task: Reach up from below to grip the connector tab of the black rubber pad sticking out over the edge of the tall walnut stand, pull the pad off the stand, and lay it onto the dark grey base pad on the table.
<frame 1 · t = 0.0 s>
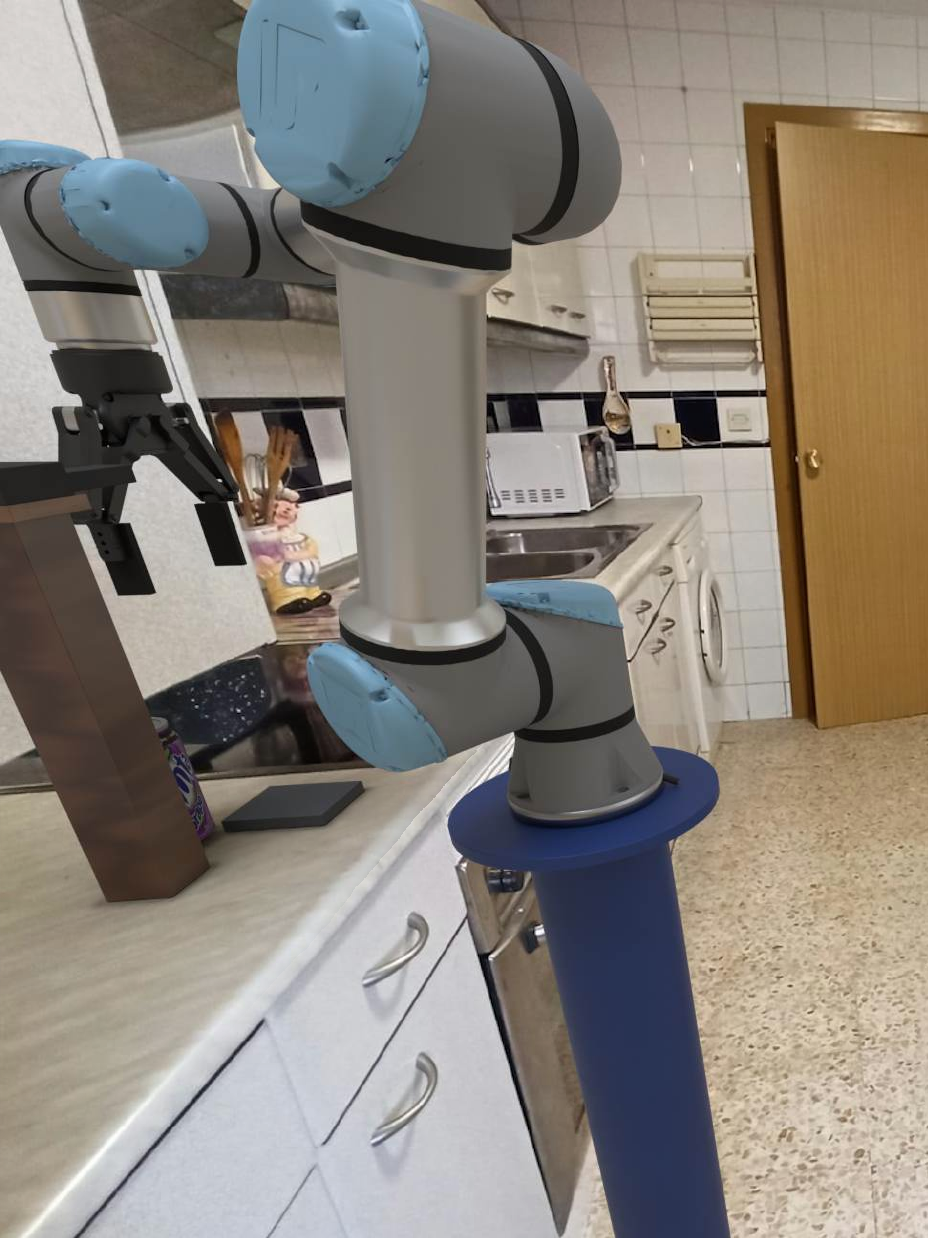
hand: (187, 579, 86), 23 cm above the counter, tool pointing down, fingers open, 13 cm apart
stand: (160, 883, 75), on the counter
base pad: (298, 810, 88), on the counter
beverage can: (170, 846, 82), on the counter
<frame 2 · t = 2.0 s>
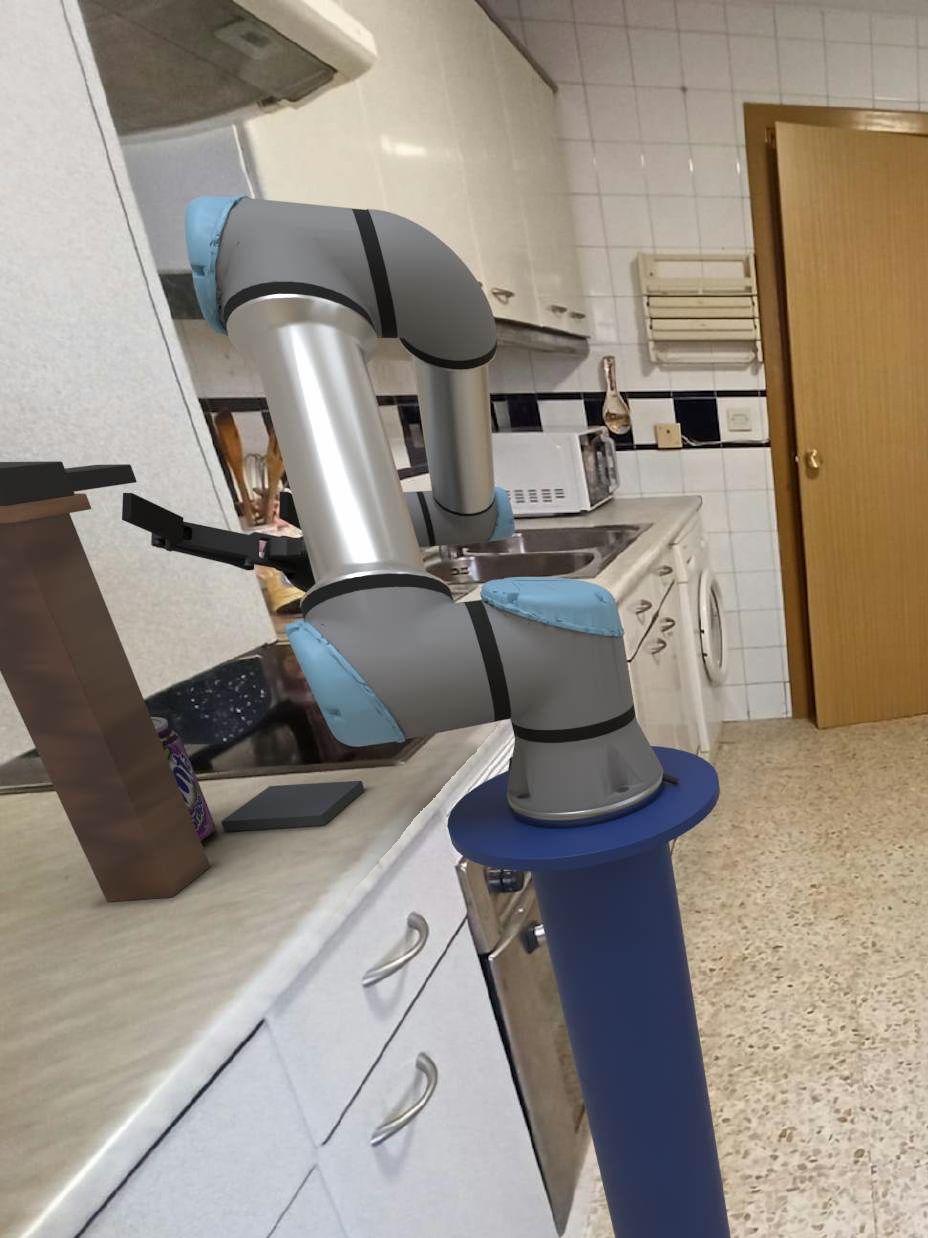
hand: (205, 505, 83), 30 cm above the counter, tool pointing upward, fingers open, 13 cm apart
nothing on the counter moved.
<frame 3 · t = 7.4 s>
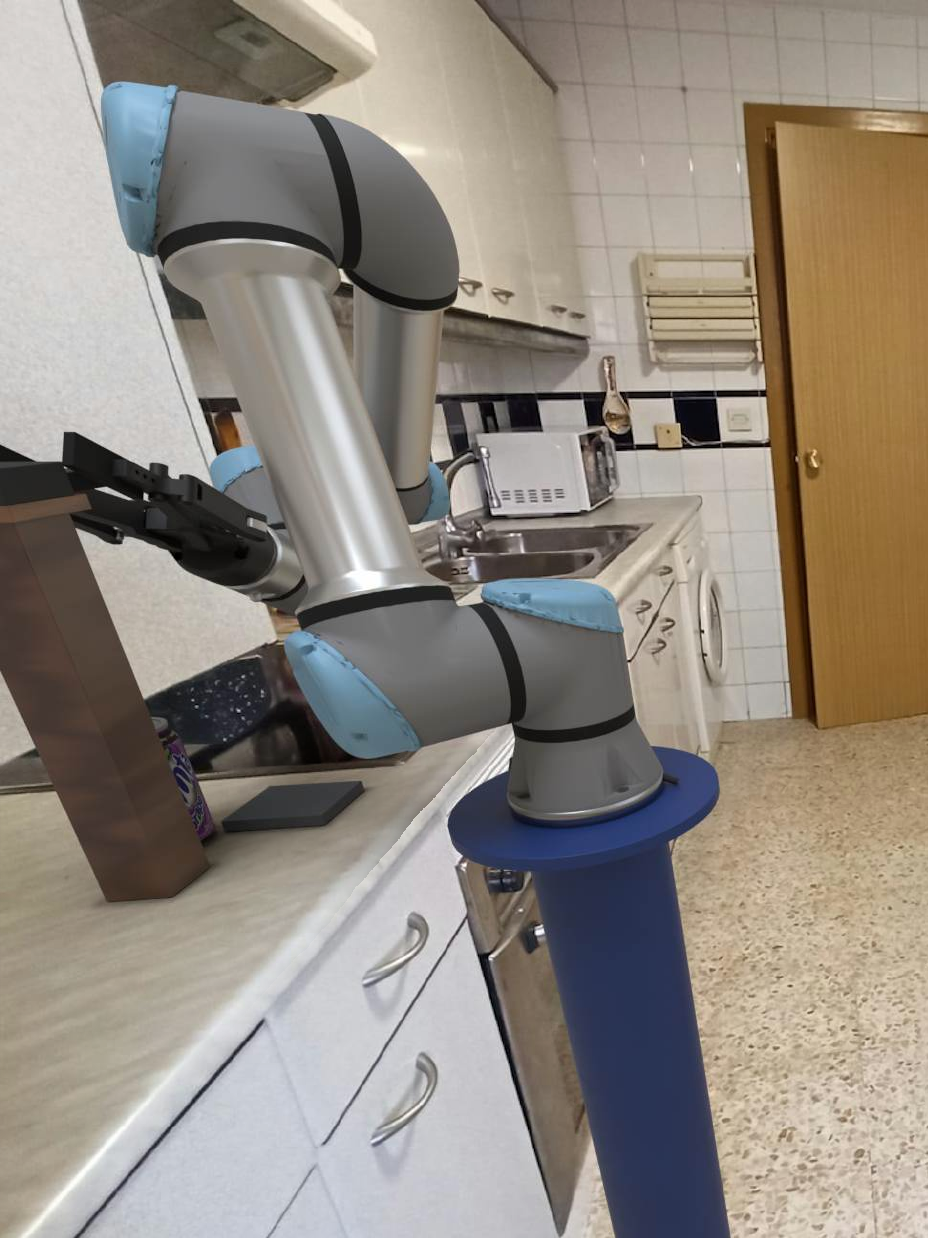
hand: (18, 449, 64), 36 cm above the counter, tool pointing upward, fingers closed on black pad, 6 cm apart
everything else where it was.
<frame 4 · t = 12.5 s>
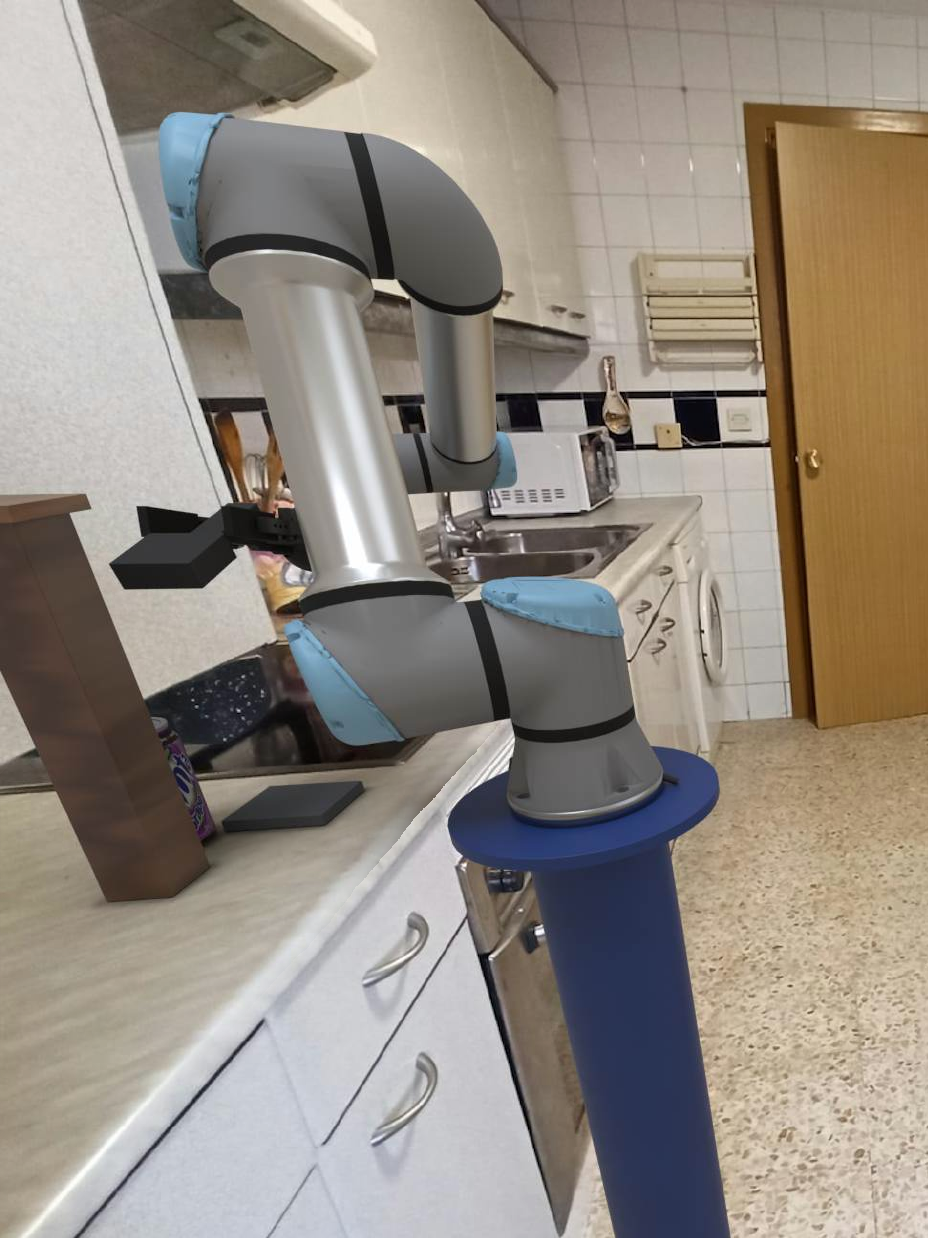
hand: (186, 521, 77), 29 cm above the counter, tool horizontal, fingers closed on black pad, 6 cm apart
black pad: (182, 573, 76), point 25 cm above the counter, tilted 16°, touching gripper
everything else where it was.
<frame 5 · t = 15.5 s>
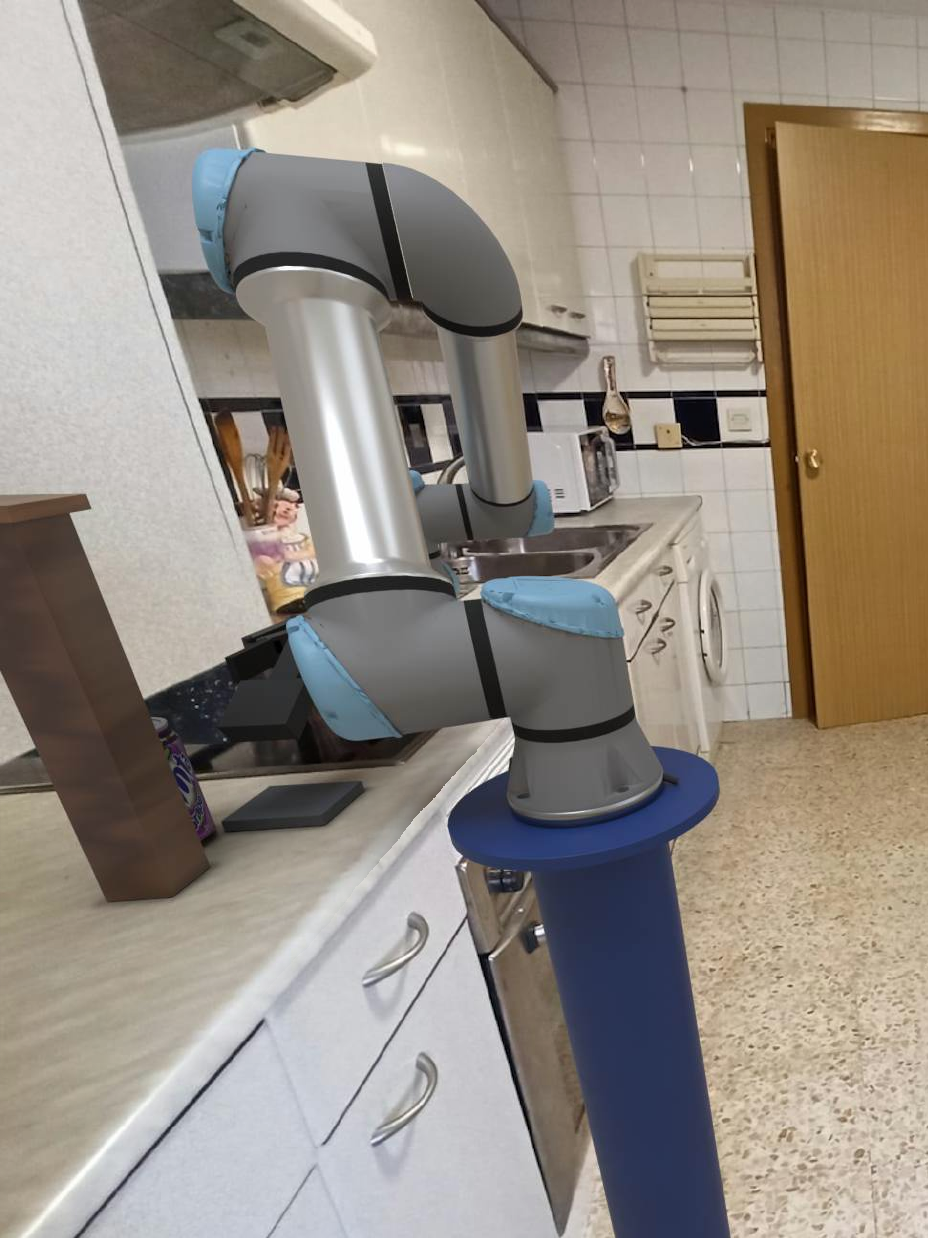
hand: (270, 668, 85), 14 cm above the counter, tool horizontal, fingers closed on black pad, 6 cm apart
black pad: (276, 717, 86), point 10 cm above the counter, tilted 30°, touching gripper
everything else where it was.
when the fingers open (7 cm above the counter, at t = 18.0 s): black pad drops 1 cm, resting on base pad.
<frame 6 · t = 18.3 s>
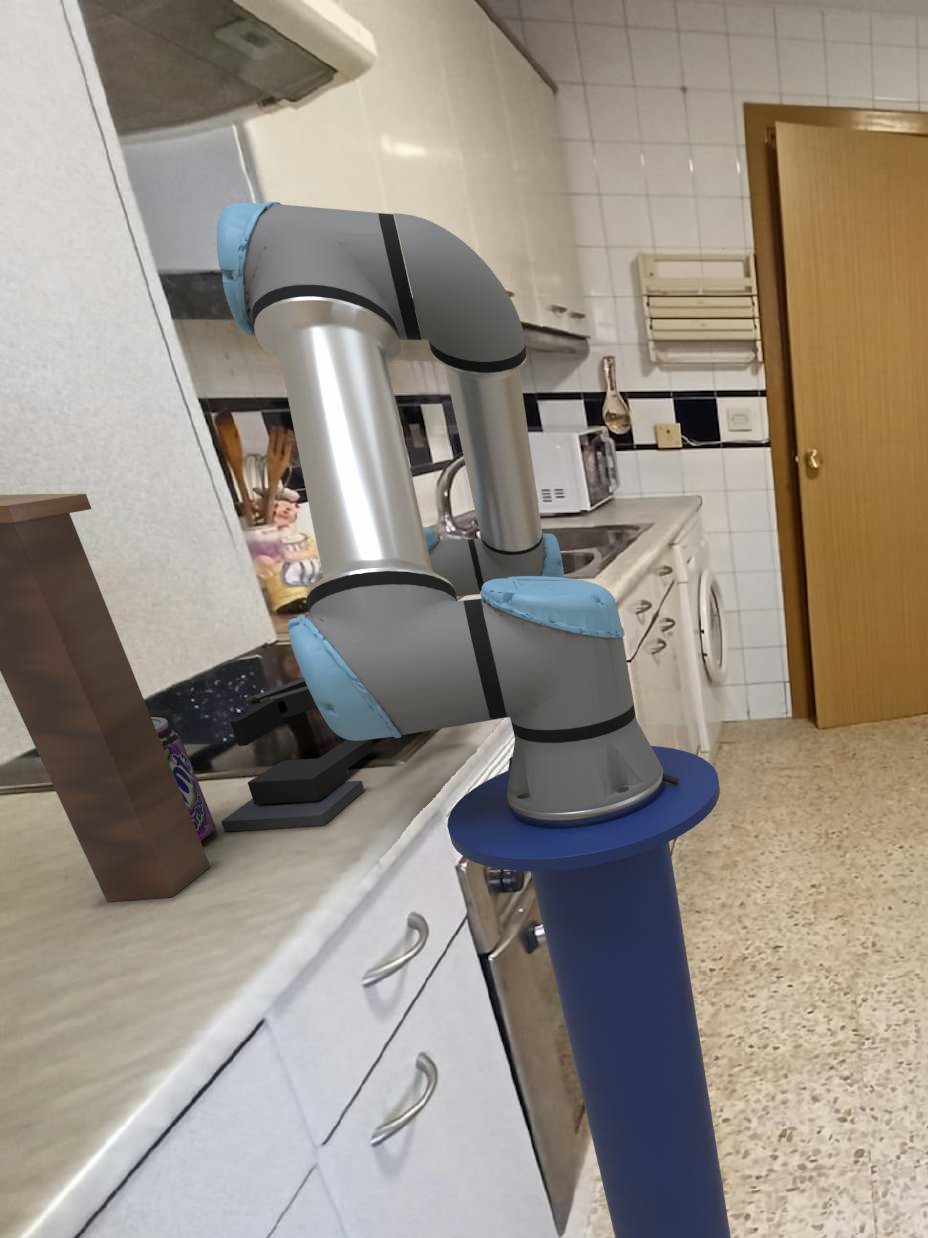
hand: (297, 730, 89), 7 cm above the counter, tool horizontal, fingers open, 10 cm apart
black pad: (304, 791, 89), point 1 cm above the counter, touching base pad
everything else where it was.
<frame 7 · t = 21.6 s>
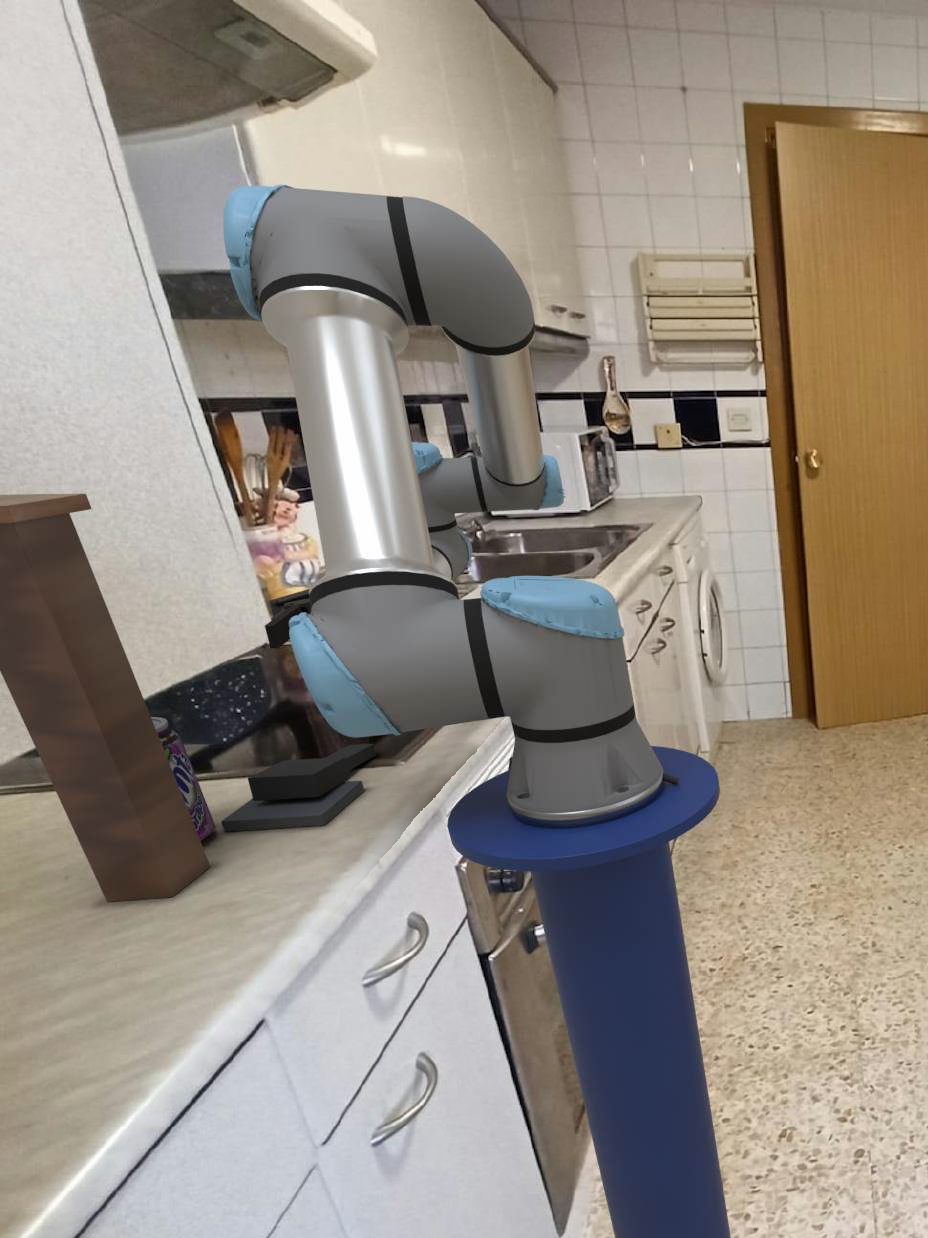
hand: (341, 640, 97), 14 cm above the counter, tool horizontal, fingers open, 13 cm apart
black pad: (303, 789, 89), point 1 cm above the counter, tilted 7°, touching base pad
everything else where it was.
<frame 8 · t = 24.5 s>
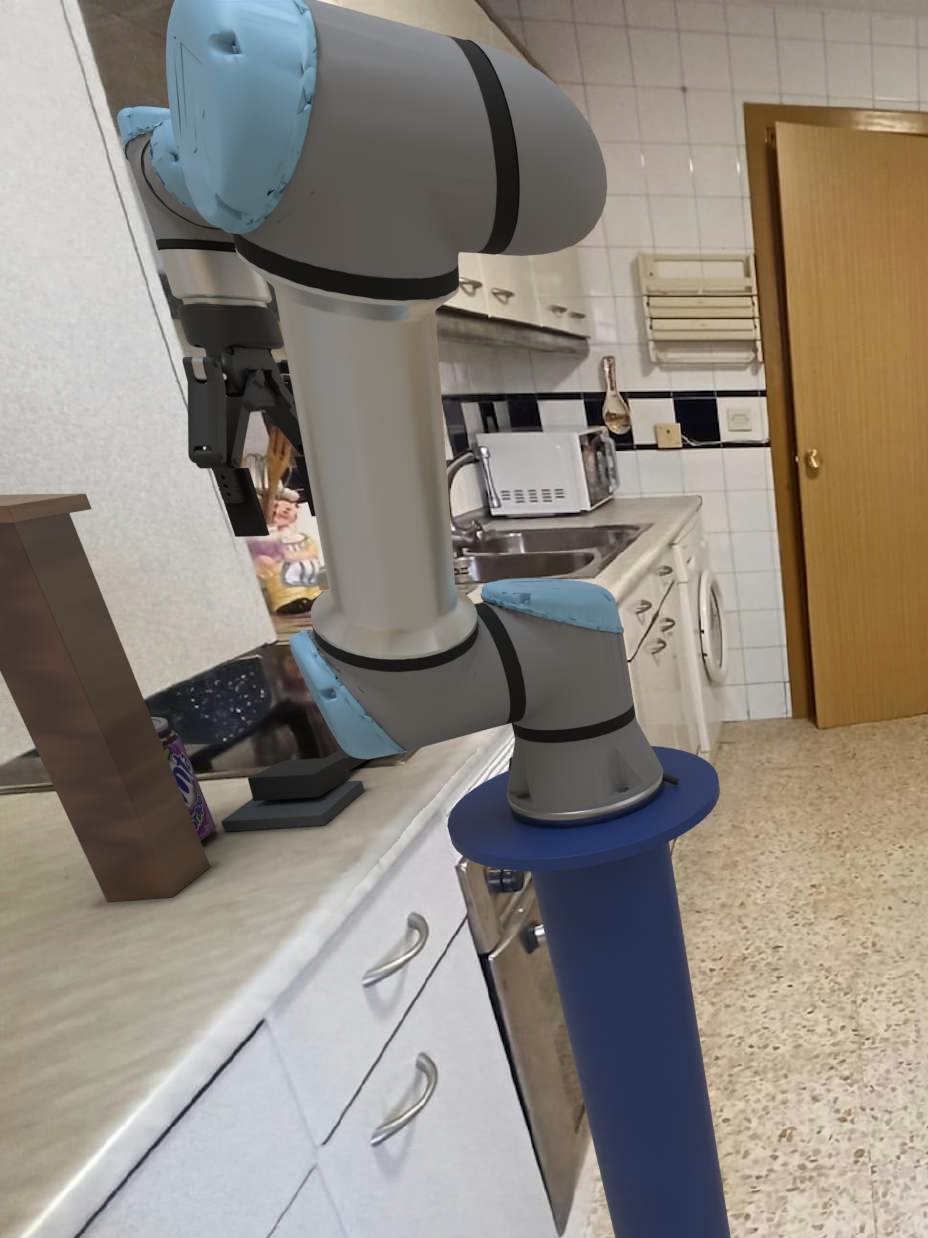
hand: (292, 525, 91), 27 cm above the counter, tool pointing down, fingers open, 13 cm apart
nothing on the counter moved.
at the end: black pad inside the target area on the base pad (1.9 cm from its centre), point 1.5 cm above the base pad's base; the gripper is holding nothing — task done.
